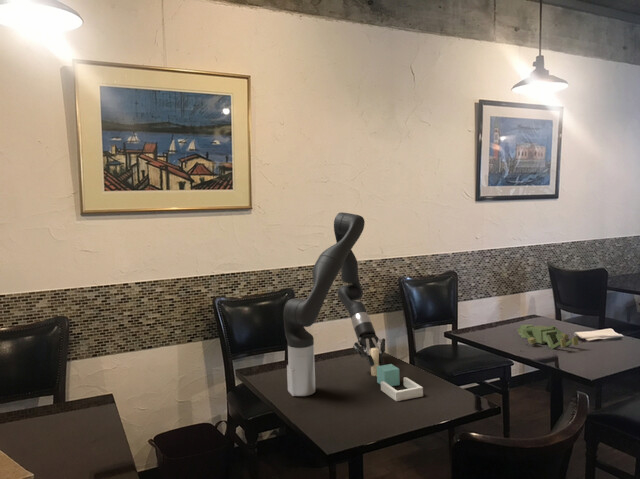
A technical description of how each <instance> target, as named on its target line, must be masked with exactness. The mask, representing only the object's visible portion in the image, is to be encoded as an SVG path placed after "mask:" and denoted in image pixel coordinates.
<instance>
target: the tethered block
mask: <svg viewBox="0 0 640 479" xmlns="http://www.w3.org/2000/svg"><path fill="white" fill-rule="evenodd" d="M379 349H380V348H379ZM379 349H378V348H371V349H370V356H372V359H373V361H374V366H372V367H371V366H370V375H371V376H373V377H376V382H377V384H379V385H380V386H381V382H382V381H384V382H386V383H387V384H388V385H390V386H391V387H396V386H400V384H401V383H400V381H401V380H400V368H399V367H397V366H395V365H394V364H392V363H390V364H382V365H380V364H379Z"/></svg>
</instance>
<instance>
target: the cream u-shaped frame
mask: <svg viewBox="0 0 640 479" xmlns="http://www.w3.org/2000/svg"><path fill="white" fill-rule="evenodd" d="M403 387H405V389H400V390H397V389H395V387H394V386H392V387H391V386H390V385H388V384H387V383H386V382H384V381H382V382H381V385H380V391H381V392H383V393H385V395H387V396H388V397H389V398H391V399H393V401H395V402H400V401H406V400H410V399H416V398H420V397H424V387H423V386H421V385H420V384H418V383H416V382H415V381H413V380H412V379H410V378H408V377H407V376H406V377H403Z"/></svg>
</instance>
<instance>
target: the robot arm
mask: <svg viewBox="0 0 640 479" xmlns="http://www.w3.org/2000/svg"><path fill="white" fill-rule="evenodd" d="M365 225H366V224H365V219H364V217H363V216H362V215H359V214H354V213H349V212H338V213H337V214H336V216H335V217H334V220H333V232H334V237H335V241H336V243H334V244H333V245H330V246H329V247H328V248H326V249H325V250H323V251H322V252H321V254H319V256H318V258H317V260H316V261H315V263H314V265H313V267H312V272H311V273H312V282H313V285H312V289H311V291H310V292H309V295H308V296H307V298H306V299H300V298H290V299H288V300H287V301H286V303H285V305H284V308H283V324H284V325H283V326H284V334H285V338H286V340H287V359H288V360H287V361H288V364H286V377H287V378H286V379H287V391H288V393H289V394H290V395H291V396H292V397H307V396H310V395H313V394H314V393H315V392H316V373H315V372H316V371H315V368H316V366H315V342H314V336H313V334H311V333H310V332H308V330H307V329H306V328H308V327H309V328H310V327H311V326H313V325H314V323H315V322H316V320H317V319H318V316H319V314H320V313H321V312H320V311H321V310H322V307H323V305H324V302H325V300H326V298H327V295H328V293H329V291H330V289H331V287H332V285H333V284H334V281H335V280H336V278H337V276H338V275H339V272H340V275H341V276H340V277H341V280H342V282H343V283H345V284H346V285H341V286H339V288H338V289H337V296H338V299H339V300H340V302H341V303H342V304H343V306H344V307H345V309H346V310H347V312H348V314H349V318H350V319H351V323H352V325H351V326H352V329H353V330H354V333H355V336H356V339H357V340H358V341H357V342H354V344H353V346H352V348H353V349H354V350H355V351H356V352H357V354H358V355H359V356H360V357H361V358H366V360H367V363H368V365H369V366H370V368H371V367H372V366H374V361H373V359H372V356H371V352H370V349H371V348H378V349H379V366H382V365H384V361H385V360H384V357H383V355H384V353H385V352H386V338H379V337H378V336H377V334H376V331H375V328H374V326H373V323H372V320H371V318H370V316H369V314H368V312H367V309H366V307H365V304H364V303H363V302H361V301H359V300H361V299H362V297H363V295H364V291H363V290H364V289H363V288H362V285H361V282H360V278H359V264H358V259H357V258H356V256H355V253H354V252H353V251H352V249H353V247H354V246H355V245H356V243H357V242H358V241H359V238H361V235H362V233H363V231H364V228H365ZM379 345H380V346H379Z"/></svg>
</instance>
